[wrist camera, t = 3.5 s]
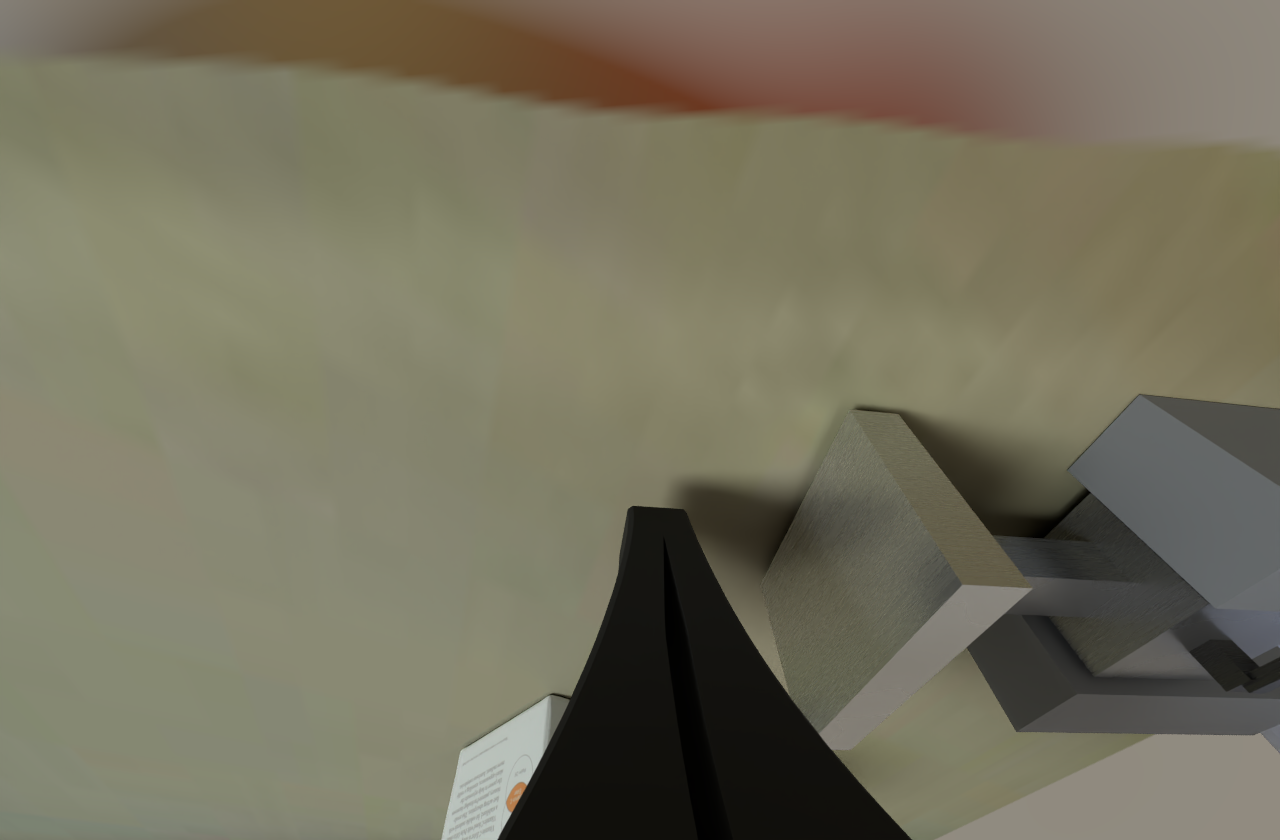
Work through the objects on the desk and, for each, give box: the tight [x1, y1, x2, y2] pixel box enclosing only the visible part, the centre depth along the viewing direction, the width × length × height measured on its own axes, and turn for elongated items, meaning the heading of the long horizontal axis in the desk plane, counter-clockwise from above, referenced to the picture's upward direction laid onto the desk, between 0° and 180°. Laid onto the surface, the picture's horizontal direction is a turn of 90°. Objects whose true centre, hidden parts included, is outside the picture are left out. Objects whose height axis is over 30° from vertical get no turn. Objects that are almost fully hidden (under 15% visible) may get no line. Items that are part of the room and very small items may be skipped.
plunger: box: [761, 409, 1280, 750], centre depth 11 cm, size 11×8×4 cm
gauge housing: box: [967, 395, 1280, 735], centre depth 13 cm, size 8×9×4 cm
